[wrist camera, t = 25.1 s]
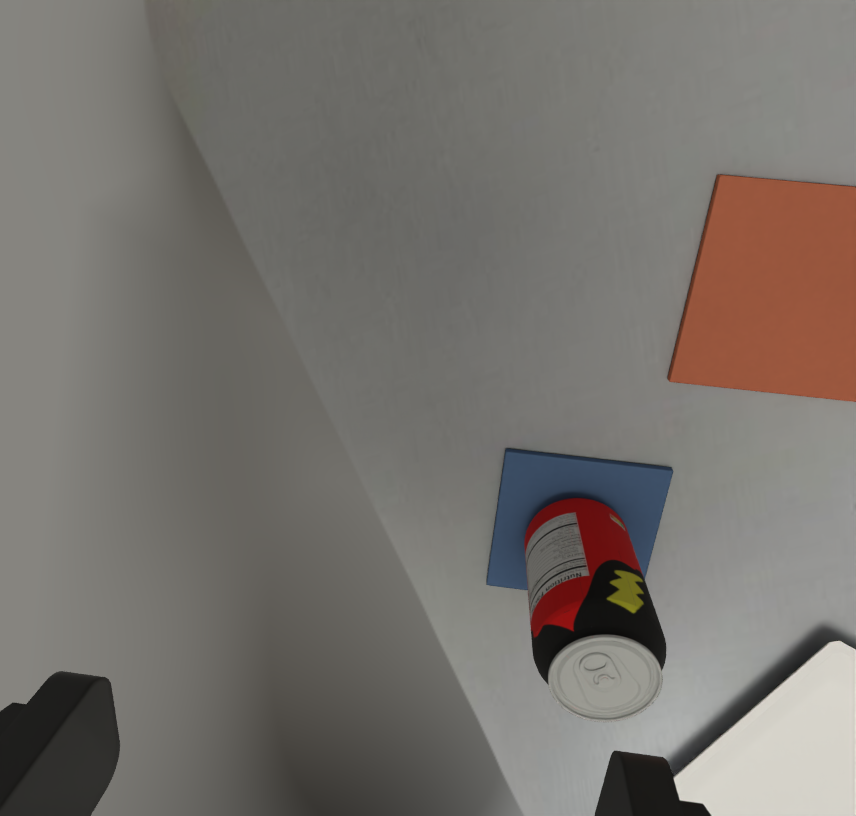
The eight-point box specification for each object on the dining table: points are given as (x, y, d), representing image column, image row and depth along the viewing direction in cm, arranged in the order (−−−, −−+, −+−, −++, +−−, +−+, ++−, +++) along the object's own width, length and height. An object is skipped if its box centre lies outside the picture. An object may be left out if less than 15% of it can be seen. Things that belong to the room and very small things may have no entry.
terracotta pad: (667, 379, 36) (669, 381, 36) (717, 174, 32) (720, 174, 31) (865, 400, 36) (870, 403, 35) (943, 194, 31) (950, 195, 31)
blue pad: (486, 580, 43) (486, 585, 42) (505, 448, 39) (505, 451, 38) (636, 599, 42) (638, 604, 42) (671, 466, 38) (673, 470, 38)
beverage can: (549, 587, 42) (570, 746, 31) (506, 513, 40) (511, 654, 29) (641, 552, 40) (697, 708, 29) (600, 473, 38) (644, 607, 27)
